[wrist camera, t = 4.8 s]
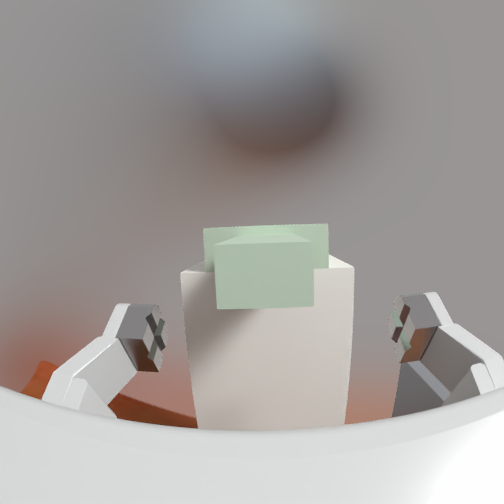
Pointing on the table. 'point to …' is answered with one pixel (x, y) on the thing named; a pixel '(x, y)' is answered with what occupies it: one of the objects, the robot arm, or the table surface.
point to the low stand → (417, 390)
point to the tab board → (265, 264)
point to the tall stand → (270, 355)
